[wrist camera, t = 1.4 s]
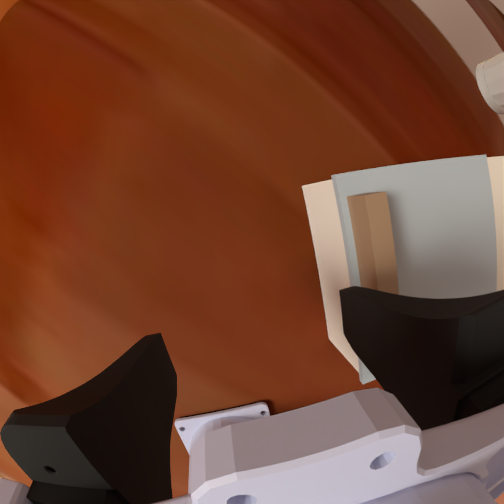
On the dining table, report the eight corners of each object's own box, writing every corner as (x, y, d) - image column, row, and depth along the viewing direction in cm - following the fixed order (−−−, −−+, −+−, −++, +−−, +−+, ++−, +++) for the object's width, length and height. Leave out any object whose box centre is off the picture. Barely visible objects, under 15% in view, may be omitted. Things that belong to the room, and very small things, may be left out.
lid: (490, 317, 19) (511, 327, 16) (359, 380, 17) (377, 401, 15) (481, 155, 17) (505, 152, 14) (331, 175, 15) (351, 170, 13)
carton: (487, 276, 25) (528, 288, 19) (328, 338, 24) (360, 374, 18) (476, 159, 23) (521, 154, 17) (301, 185, 22) (333, 179, 16)
